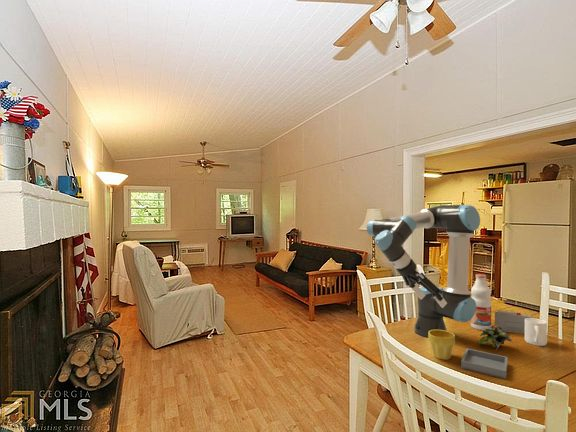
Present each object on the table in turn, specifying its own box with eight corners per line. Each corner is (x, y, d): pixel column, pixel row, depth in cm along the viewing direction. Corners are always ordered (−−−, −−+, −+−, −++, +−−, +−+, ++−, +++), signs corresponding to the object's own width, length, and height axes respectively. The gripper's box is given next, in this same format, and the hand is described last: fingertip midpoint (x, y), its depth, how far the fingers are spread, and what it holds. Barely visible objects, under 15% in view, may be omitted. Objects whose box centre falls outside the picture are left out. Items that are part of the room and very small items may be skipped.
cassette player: (531, 333, 165) (531, 313, 165) (532, 335, 163) (532, 315, 162) (494, 328, 172) (494, 309, 172) (495, 330, 170) (495, 311, 169)
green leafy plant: (496, 356, 151) (513, 336, 150) (500, 361, 141) (518, 340, 140) (473, 338, 156) (489, 319, 155) (475, 342, 146) (492, 321, 145)
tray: (461, 368, 128) (461, 360, 128) (466, 355, 140) (466, 348, 140) (505, 379, 120) (505, 371, 120) (507, 364, 132) (507, 356, 131)
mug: (549, 350, 144) (549, 327, 144) (526, 346, 149) (526, 324, 148) (545, 341, 154) (545, 319, 154) (523, 338, 159) (523, 316, 159)
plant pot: (424, 351, 144) (424, 329, 144) (448, 351, 144) (448, 329, 144) (434, 361, 134) (434, 338, 134) (459, 362, 134) (459, 338, 134)
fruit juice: (481, 324, 178) (482, 272, 178) (495, 330, 169) (495, 276, 169) (466, 325, 177) (466, 273, 176) (479, 331, 168) (479, 277, 167)
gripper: (381, 265, 145) (409, 300, 148) (415, 274, 121) (448, 316, 124) (393, 254, 146) (420, 288, 149) (429, 261, 122) (461, 302, 125)
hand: (433, 301), depth 136 cm, fingers open, 13 cm apart
